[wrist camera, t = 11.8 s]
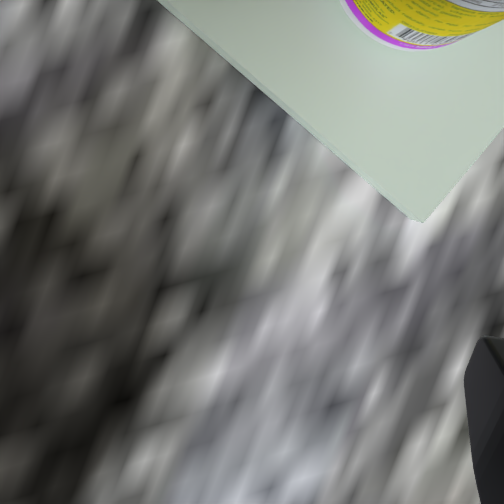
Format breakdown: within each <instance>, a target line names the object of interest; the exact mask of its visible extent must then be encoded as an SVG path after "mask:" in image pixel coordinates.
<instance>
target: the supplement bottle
mask: <svg viewBox="0 0 504 504" xmlns="http://www.w3.org/2000/svg"><path fill="white" fill-rule="evenodd" d="M339 1H340V3H341V5H342V7H343V9H344V11H345V12H346V14H347V15H348V17H349V18H350V19H351V20H352V21H353V22H354V23H355V24H356V26H357V27H358V28H359V29H361V30H362V31H363V32H364V33H365V34H366V35H368V36H369V37H370V38H372V39H373V40H375V41H377V42H379V43H381V44H383V45H385V46H388V47H390V48H393V49H397V50H403V51H412V52H415V51H428V50H434V49H438V48H441V47H444V46H447V45H449V44H452V43H455V42H457V41H459V40H461V39H464V38H466V37H468V36H470V35H472V34H474V33H476V32H478V31H481V30H483V29H485V28H487V27H489V26H491V25H493V24H495V23H497V22H500V21H502V20H504V0H339Z"/></svg>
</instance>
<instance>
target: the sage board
mask: <svg viewBox="0 0 504 504" xmlns="http://www.w3.org/2000/svg"><path fill="white" fill-rule="evenodd" d="M157 1H158V2H159V3H161V4H162V5H163V6H164V7H165V8H166V9H167V10H169V11H170V12H171V13H172V14H173V15H174V16H176V17H177V18H178V19H179V20H180V21H181V22H183V23H184V24H185V25H186V26H187V27H188V28H189V29H191V30H192V31H193V32H194V33H195V34H196V35H198V36H199V37H200V38H201V39H202V40H203V41H205V42H206V43H207V44H208V45H209V46H210V47H211V48H213V49H214V50H215V51H216V52H217V53H218V54H220V55H221V56H222V57H223V58H224V59H225V60H227V61H228V62H229V63H230V64H231V65H232V66H233V67H235V68H236V69H237V70H238V71H239V72H240V73H242V74H243V75H244V76H245V77H246V78H247V79H249V80H250V81H251V82H252V83H253V84H254V85H256V86H257V87H258V88H259V89H260V90H261V91H262V92H264V93H265V94H266V95H267V96H268V97H269V98H271V99H272V100H273V101H274V102H275V103H276V104H278V105H279V106H280V107H281V108H282V109H283V110H284V111H286V112H287V113H288V114H289V115H290V116H291V117H293V118H294V119H295V120H296V121H297V122H298V123H300V124H301V125H302V126H303V127H304V128H305V129H306V130H308V131H309V132H310V133H311V134H312V135H313V136H315V137H316V138H317V139H318V140H319V141H320V142H322V143H323V144H324V145H325V146H326V147H327V148H328V149H330V150H331V151H332V152H333V153H334V154H335V155H337V156H338V157H339V158H340V159H341V160H342V161H344V162H345V163H346V164H347V165H348V166H349V167H350V168H352V169H353V170H354V171H355V172H356V173H357V174H359V175H360V176H361V177H362V178H363V179H364V180H366V181H367V182H368V183H369V184H370V185H371V186H372V187H374V188H375V189H376V190H377V191H378V192H379V193H381V194H382V195H383V196H384V197H385V198H386V199H388V200H389V201H390V202H391V203H392V204H393V205H394V206H396V207H397V208H398V209H399V210H400V211H401V212H403V213H404V214H405V215H406V216H407V217H408V218H410V219H411V220H414V221H418V222H421V223H424V222H425V220H426V219H427V218H428V217H429V216H430V215H431V213H432V212H433V211H434V210H435V209H436V207H437V206H438V205H439V204H440V203H441V201H442V200H443V199H444V198H445V197H446V195H447V194H448V193H449V192H450V191H451V190H452V188H453V187H454V186H455V185H456V184H457V182H458V181H459V180H460V179H461V178H462V176H463V175H464V174H465V173H466V172H467V170H468V169H469V168H470V167H471V166H472V165H473V163H474V162H475V161H476V160H477V159H478V157H479V156H480V155H481V154H482V153H483V151H484V150H485V149H486V148H487V147H488V145H489V144H490V143H491V142H492V141H493V140H494V138H495V137H496V136H497V135H498V134H499V132H500V131H501V130H502V129H503V128H504V20H502V21H500V22H497V23H495V24H493V25H491V26H489V27H487V28H485V29H483V30H481V31H478V32H476V33H474V34H472V35H470V36H468V37H466V38H464V39H461V40H459V41H457V42H455V43H452V44H449V45H447V46H444V47H441V48H438V49H434V50H428V51H415V52H412V51H403V50H397V49H393V48H390V47H388V46H385V45H383V44H381V43H379V42H377V41H375V40H373V39H372V38H370V37H369V36H368V35H366V34H365V33H364V32H363V31H362V30H361V29H359V28H358V27H357V26H356V24H355V23H354V22H353V21H352V20H351V19H350V18H349V17H348V15H347V14H346V12H345V11H344V9H343V7H342V5H341V3H340V1H339V0H157Z"/></svg>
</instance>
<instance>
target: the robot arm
mask: <svg viewBox="0 0 504 504" xmlns="http://www.w3.org/2000/svg"><path fill="white" fill-rule="evenodd" d="M464 389H465V399H466V408H467V417H468V426H469V435H470V445H471V454H472V462H473V469H474V474H475V479H476V484H477V489H478V493H479V497H480V502H481V504H504V338H498V337H492V336H482V337H480V339H479V340H478V341H477V343H476V346H475V348H474V351H473V353H472V356H471V358H470V361H469V363H468V366H467V368H466V371H465V375H464Z"/></svg>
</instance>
